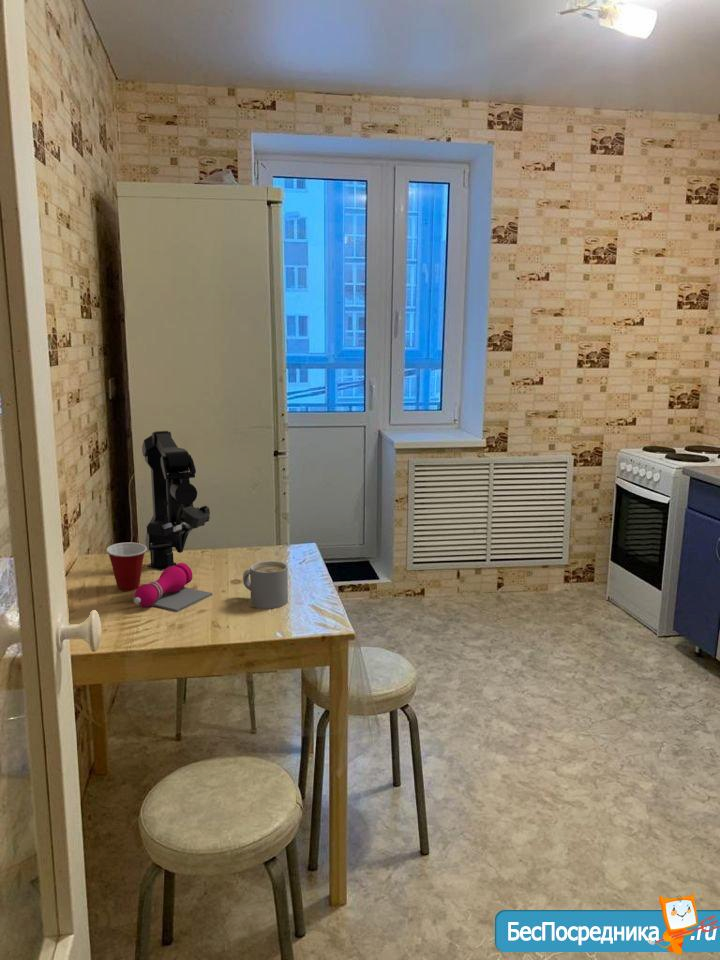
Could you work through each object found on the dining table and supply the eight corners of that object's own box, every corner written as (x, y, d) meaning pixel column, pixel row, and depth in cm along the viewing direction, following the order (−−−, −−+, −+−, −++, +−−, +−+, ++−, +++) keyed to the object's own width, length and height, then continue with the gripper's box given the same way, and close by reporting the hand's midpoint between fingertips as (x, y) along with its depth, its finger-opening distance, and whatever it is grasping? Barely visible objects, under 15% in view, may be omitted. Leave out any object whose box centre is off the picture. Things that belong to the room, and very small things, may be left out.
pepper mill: (180, 555, 197) (131, 583, 179) (198, 573, 196) (150, 602, 178) (169, 572, 200) (120, 600, 182) (187, 589, 199) (139, 620, 181)
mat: (132, 600, 189) (132, 598, 188) (168, 585, 201) (168, 583, 201) (177, 611, 181) (177, 609, 181) (212, 595, 193) (212, 593, 193)
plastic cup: (124, 597, 191) (121, 555, 189) (101, 589, 197) (98, 548, 195) (156, 586, 200) (154, 546, 197) (133, 578, 206) (131, 539, 204)
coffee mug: (295, 601, 189) (295, 566, 187) (267, 611, 182) (267, 575, 180) (262, 589, 198) (262, 556, 196) (235, 599, 191) (234, 564, 189)
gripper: (176, 507, 177) (178, 566, 180) (223, 494, 193) (225, 548, 196) (143, 502, 182) (146, 559, 185) (192, 489, 198) (194, 542, 201)
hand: (180, 552), depth 192 cm, fingers closed
